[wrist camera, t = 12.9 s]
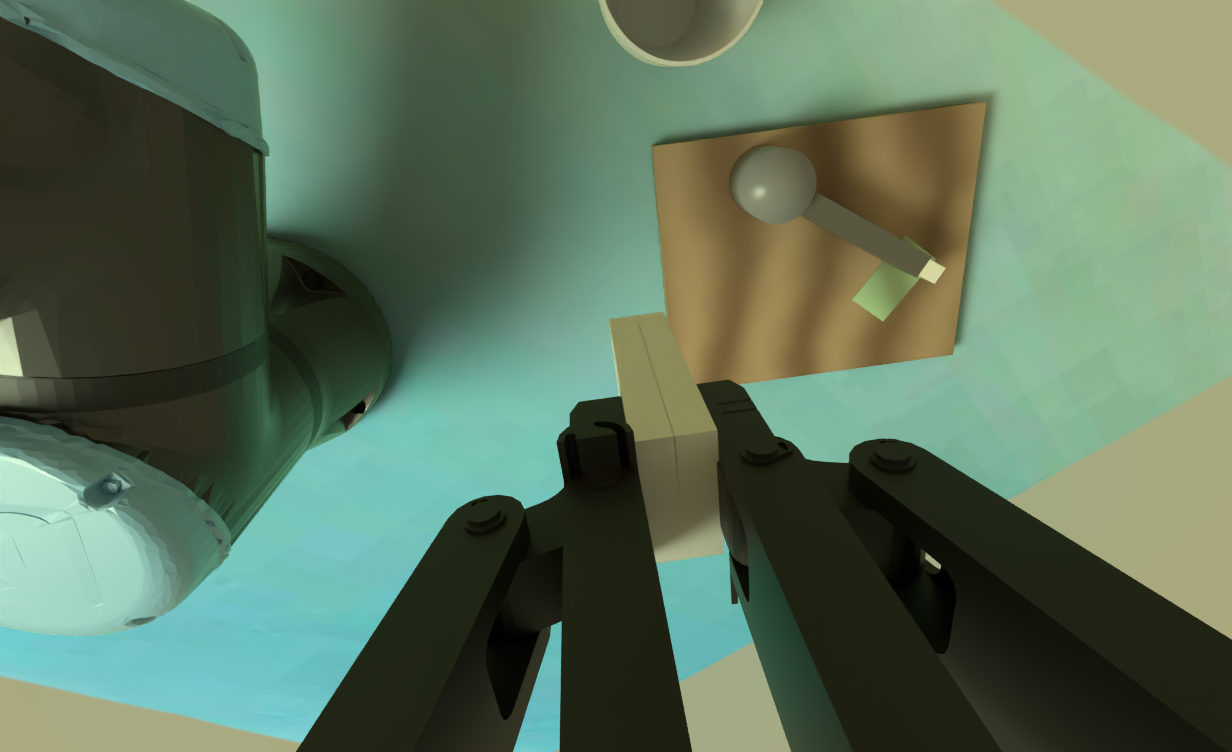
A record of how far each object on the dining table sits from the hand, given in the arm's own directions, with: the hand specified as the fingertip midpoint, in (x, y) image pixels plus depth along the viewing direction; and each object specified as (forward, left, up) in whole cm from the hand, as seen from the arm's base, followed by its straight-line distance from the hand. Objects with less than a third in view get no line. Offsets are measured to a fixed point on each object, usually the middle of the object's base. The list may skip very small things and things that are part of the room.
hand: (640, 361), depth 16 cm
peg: (+16, -2, -25) cm, 30 cm away
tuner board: (+15, -5, -26) cm, 31 cm away
